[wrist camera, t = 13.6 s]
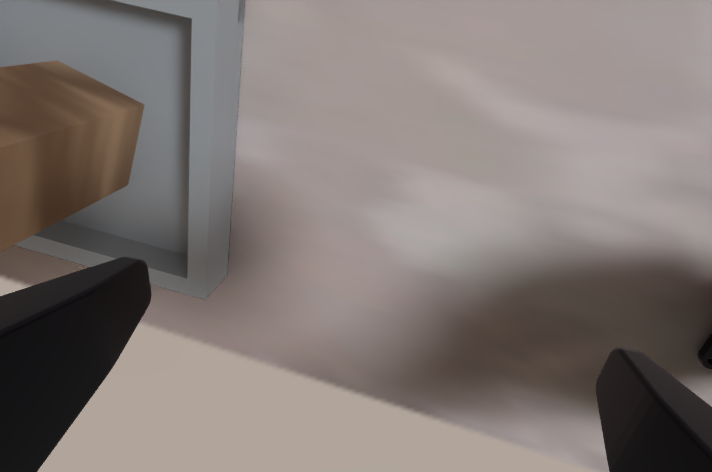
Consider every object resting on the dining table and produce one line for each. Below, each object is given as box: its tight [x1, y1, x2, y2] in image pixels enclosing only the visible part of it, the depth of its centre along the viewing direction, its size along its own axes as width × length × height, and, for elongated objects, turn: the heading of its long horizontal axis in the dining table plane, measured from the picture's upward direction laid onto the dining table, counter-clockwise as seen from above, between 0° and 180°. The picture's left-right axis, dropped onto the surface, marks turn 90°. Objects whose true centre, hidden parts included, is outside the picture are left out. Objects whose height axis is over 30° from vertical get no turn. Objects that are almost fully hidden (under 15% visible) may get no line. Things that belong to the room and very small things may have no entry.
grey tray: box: [0, 0, 245, 300], centre depth 22 cm, size 14×14×2 cm
